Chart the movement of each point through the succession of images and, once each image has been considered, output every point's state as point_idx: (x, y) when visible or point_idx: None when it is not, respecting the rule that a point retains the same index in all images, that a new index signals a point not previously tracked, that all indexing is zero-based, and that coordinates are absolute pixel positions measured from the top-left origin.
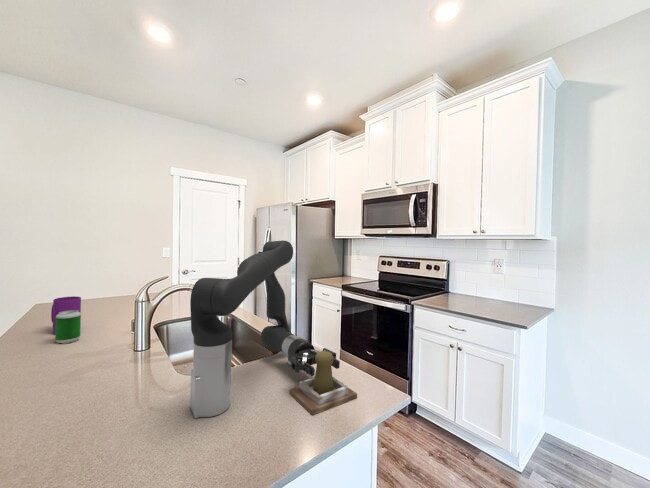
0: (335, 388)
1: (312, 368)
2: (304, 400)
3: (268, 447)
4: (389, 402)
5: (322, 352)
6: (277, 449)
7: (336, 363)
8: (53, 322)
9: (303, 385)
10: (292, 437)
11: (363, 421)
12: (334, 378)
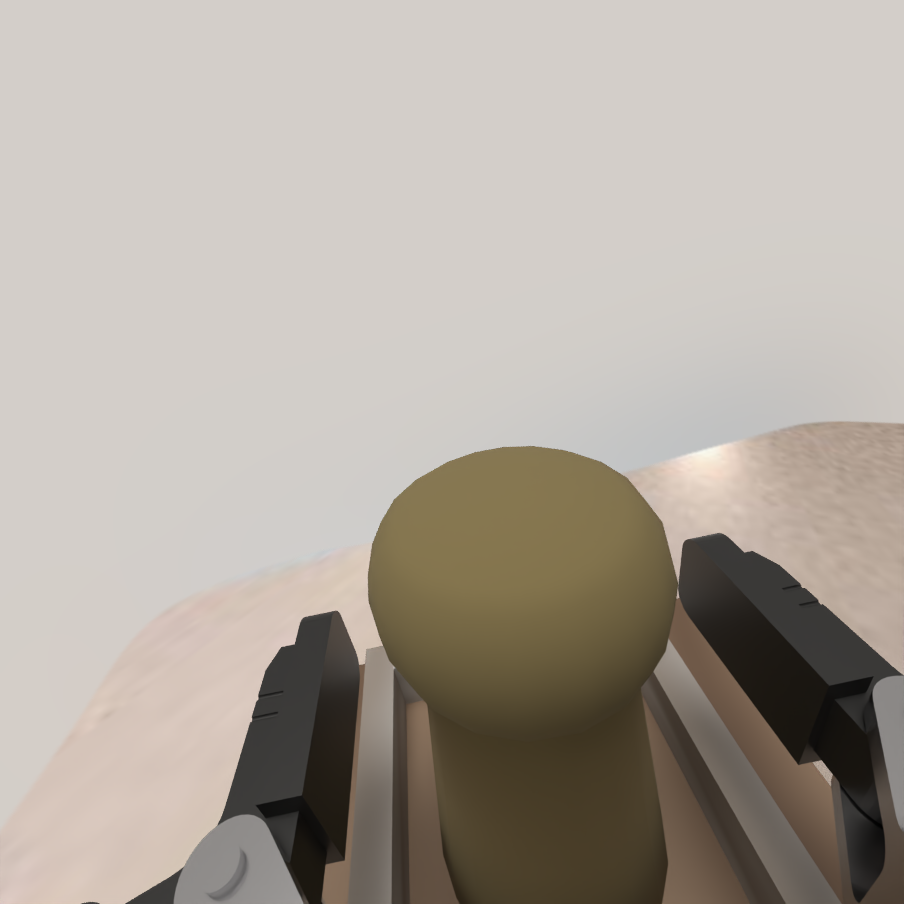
0: (408, 819)
1: (715, 534)
2: (756, 721)
3: (894, 496)
4: (233, 603)
5: (534, 496)
6: (842, 485)
7: (340, 643)
8: None
9: (812, 859)
10: (785, 518)
11: None
12: (355, 876)
